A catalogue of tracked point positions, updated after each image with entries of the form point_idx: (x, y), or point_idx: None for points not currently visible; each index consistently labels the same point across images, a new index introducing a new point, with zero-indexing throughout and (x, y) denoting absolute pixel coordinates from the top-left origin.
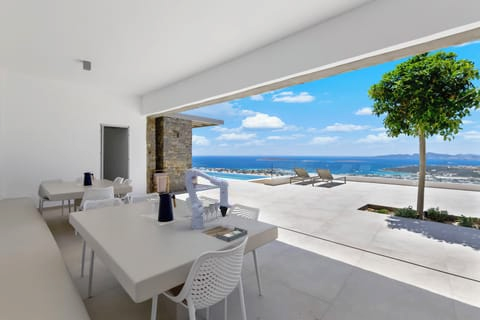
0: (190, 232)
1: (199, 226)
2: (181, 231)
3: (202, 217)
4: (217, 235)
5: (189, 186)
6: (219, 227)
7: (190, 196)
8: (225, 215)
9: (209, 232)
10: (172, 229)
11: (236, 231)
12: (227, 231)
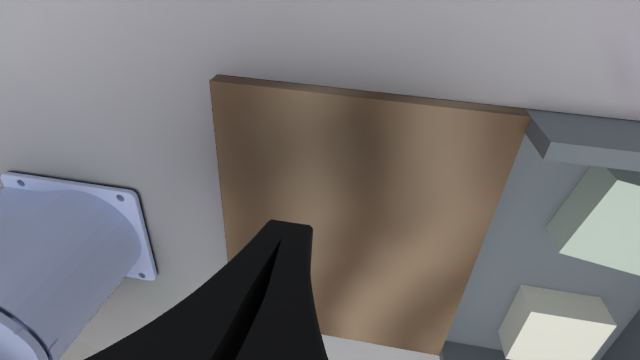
0: (155, 317)
1: (123, 277)
2: (94, 325)
3: (47, 332)
4: None
5: None
6: (257, 137)
7: None
8: (309, 245)
9: None
10: None
11: (619, 218)
12: (448, 201)
